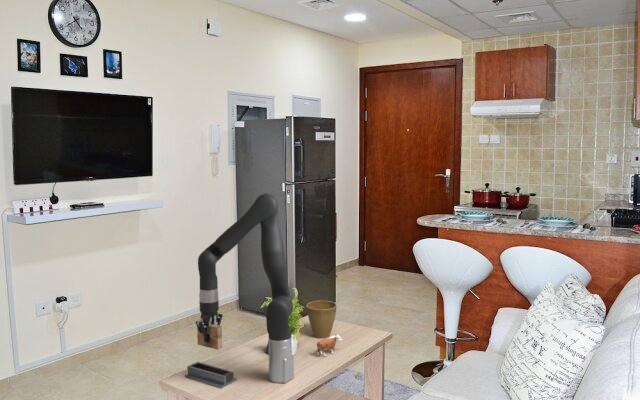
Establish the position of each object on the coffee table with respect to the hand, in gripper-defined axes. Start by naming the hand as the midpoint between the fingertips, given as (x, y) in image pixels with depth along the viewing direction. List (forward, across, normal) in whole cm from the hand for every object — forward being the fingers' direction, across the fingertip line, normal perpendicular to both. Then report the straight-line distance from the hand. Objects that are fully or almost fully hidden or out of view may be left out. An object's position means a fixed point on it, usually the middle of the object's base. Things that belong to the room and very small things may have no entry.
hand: (209, 341), depth 224 cm
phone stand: (+16, +37, -6) cm, 41 cm away
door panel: (+2, 0, 0) cm, 2 cm away
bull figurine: (+16, +48, -27) cm, 57 cm away
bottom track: (+16, 0, 0) cm, 16 cm away
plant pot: (+16, +66, -12) cm, 69 cm away
